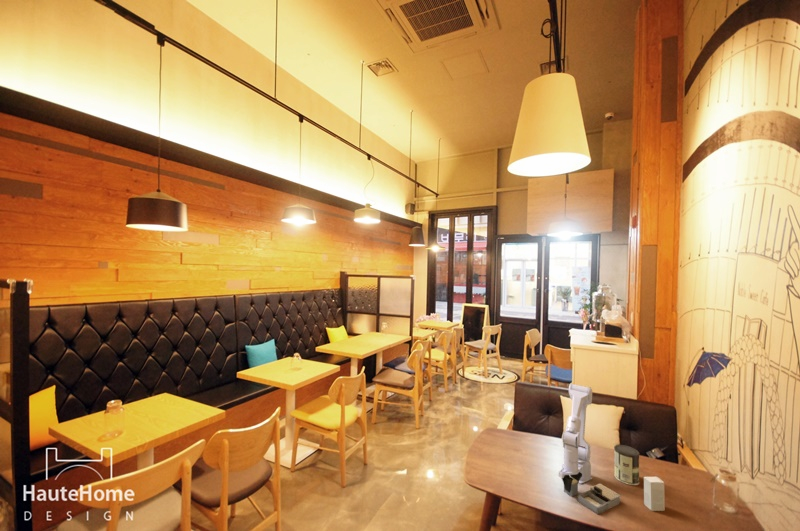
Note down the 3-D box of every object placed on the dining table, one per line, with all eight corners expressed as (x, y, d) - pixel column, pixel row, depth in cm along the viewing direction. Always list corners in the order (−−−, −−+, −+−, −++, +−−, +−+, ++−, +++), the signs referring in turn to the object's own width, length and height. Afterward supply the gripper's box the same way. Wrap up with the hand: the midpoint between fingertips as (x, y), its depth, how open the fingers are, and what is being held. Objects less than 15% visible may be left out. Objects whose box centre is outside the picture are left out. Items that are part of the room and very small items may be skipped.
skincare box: (656, 504, 145) (656, 476, 145) (665, 511, 140) (664, 482, 141) (643, 504, 144) (643, 476, 145) (651, 511, 140) (651, 482, 140)
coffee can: (633, 474, 166) (633, 445, 167) (643, 487, 156) (643, 456, 157) (610, 471, 168) (610, 443, 169) (619, 483, 158) (619, 453, 159)
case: (599, 491, 152) (599, 485, 152) (619, 503, 144) (619, 497, 144) (577, 501, 145) (577, 495, 145) (597, 514, 137) (597, 508, 137)
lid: (599, 484, 153) (599, 480, 153) (620, 496, 145) (620, 492, 145) (590, 488, 149) (590, 484, 150) (610, 501, 141) (610, 496, 142)
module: (569, 489, 154) (569, 475, 154) (577, 494, 150) (577, 480, 150) (563, 491, 152) (564, 478, 152) (572, 496, 148) (572, 483, 148)
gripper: (573, 451, 158) (573, 480, 158) (552, 458, 151) (552, 488, 151) (587, 458, 152) (587, 488, 151) (566, 466, 145) (566, 497, 145)
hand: (570, 489), depth 151 cm, fingers closed on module, 4 cm apart
